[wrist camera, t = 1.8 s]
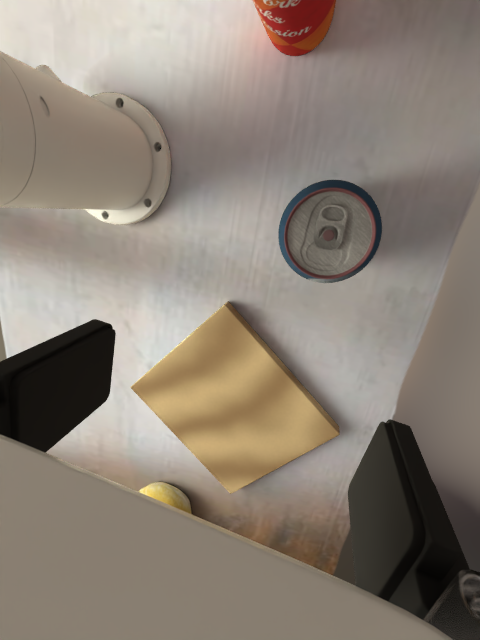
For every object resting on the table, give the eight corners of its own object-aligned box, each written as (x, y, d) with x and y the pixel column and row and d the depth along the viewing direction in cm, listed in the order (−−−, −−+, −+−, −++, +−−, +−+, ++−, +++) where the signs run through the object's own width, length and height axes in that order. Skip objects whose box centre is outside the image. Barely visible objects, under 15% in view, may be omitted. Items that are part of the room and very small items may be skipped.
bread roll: (203, 513, 48) (193, 538, 44) (160, 527, 51) (148, 551, 47) (172, 472, 47) (159, 494, 43) (131, 488, 50) (115, 510, 46)
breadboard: (136, 381, 43) (130, 387, 42) (228, 300, 36) (224, 304, 35) (233, 485, 45) (230, 494, 43) (339, 426, 38) (340, 434, 36)
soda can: (352, 269, 32) (368, 297, 21) (285, 256, 33) (266, 277, 22) (372, 196, 30) (402, 185, 19) (299, 185, 31) (286, 169, 20)
